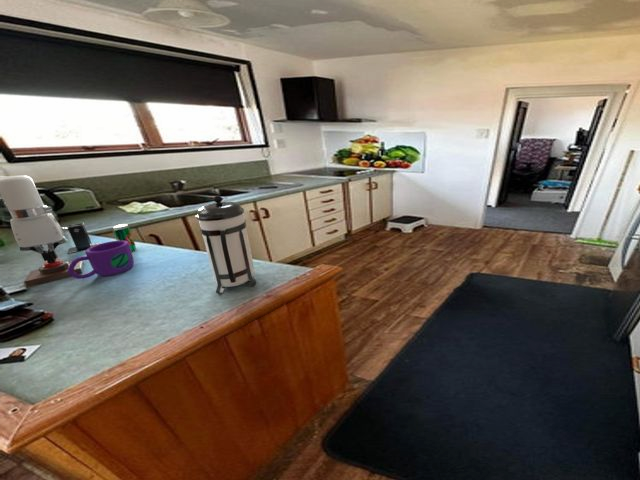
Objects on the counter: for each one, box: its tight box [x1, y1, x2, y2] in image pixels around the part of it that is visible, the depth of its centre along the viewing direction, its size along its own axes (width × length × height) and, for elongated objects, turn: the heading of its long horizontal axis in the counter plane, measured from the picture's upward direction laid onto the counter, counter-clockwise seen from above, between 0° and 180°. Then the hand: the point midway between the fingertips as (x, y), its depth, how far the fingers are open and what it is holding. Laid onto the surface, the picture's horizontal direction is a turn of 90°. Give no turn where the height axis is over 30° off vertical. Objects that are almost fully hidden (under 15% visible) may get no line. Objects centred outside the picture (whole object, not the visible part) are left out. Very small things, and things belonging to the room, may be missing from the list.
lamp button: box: [43, 258, 62, 268], centre depth 98 cm, size 4×4×2 cm
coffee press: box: [195, 195, 257, 295], centre depth 85 cm, size 17×16×30 cm
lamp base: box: [24, 260, 85, 288], centre depth 99 cm, size 13×11×4 cm
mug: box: [68, 240, 135, 280], centre depth 97 cm, size 17×11×10 cm, turn 160°
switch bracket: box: [67, 222, 102, 255], centre depth 119 cm, size 10×8×12 cm
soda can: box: [112, 223, 137, 253], centre depth 116 cm, size 5×5×12 cm
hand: (52, 261), depth 98 cm, fingers closed
